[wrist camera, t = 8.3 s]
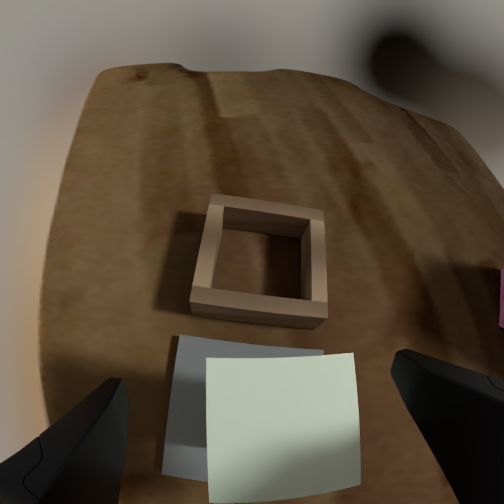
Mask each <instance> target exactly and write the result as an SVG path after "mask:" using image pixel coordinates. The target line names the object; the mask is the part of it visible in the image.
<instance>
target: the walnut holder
mask: <svg viewBox="0 0 504 504" xmlns="http://www.w3.org/2000/svg"><path fill="white" fill-rule="evenodd" d="M222 227H224V228H231V229H239V230H246V231H253V232H260V233H267V234H273V235H280V236H287V237H294V238H300V239H301V299H292V298H283V297H274V296H266V295H258V294H250V293H243V292H235V291H228V290H221V289H213V288H212V286H213V280H214V274H215V268H216V262H217V256H218V250H219V244H220V238H221V232H222ZM189 302H190V307H191V312H192V315H195V316H201V317H208V318H215V319H222V320H230V321H238V322H246V323H254V324H263V325H272V326H282V327H292V328H303V329H315V328H317V327H318V326H319V325H320V324H321V323H322V322H324V321H325V320H326V319H327V318H328V307H327V269H326V247H325V230H324V215H323V210H317V209H312V208H306V207H300V206H294V205H288V204H282V203H276V202H269V201H263V200H256V199H249V198H242V197H235V196H228V195H221V194H213V193H212V195H211V199H210V204H209V208H208V212H207V217H206V221H205V226H204V230H203V235H202V240H201V245H200V249H199V254H198V259H197V264H196V269H195V274H194V279H193V285H192V290H191V295H190V301H189Z"/></svg>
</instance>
